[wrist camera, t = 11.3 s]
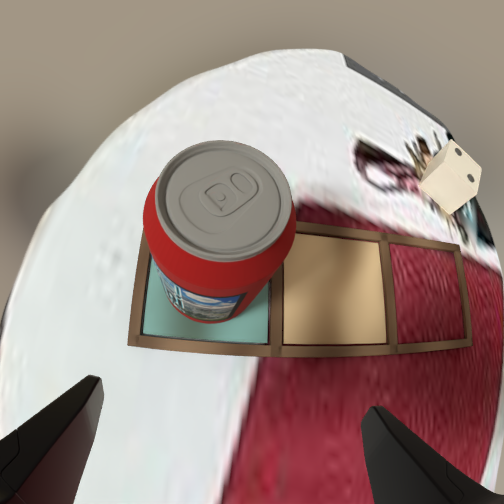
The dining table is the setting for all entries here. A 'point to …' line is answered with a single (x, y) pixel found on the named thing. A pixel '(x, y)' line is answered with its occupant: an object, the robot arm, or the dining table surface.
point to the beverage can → (218, 228)
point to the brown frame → (301, 302)
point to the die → (451, 177)
